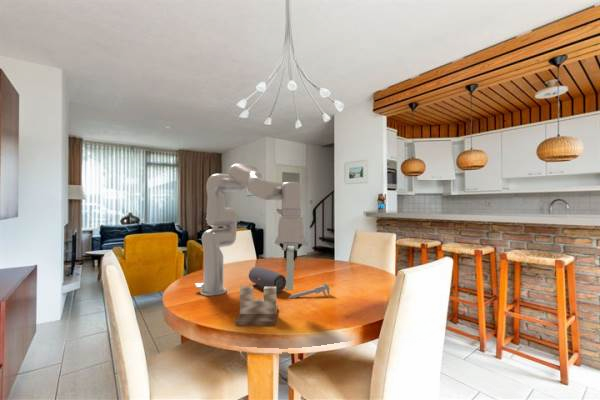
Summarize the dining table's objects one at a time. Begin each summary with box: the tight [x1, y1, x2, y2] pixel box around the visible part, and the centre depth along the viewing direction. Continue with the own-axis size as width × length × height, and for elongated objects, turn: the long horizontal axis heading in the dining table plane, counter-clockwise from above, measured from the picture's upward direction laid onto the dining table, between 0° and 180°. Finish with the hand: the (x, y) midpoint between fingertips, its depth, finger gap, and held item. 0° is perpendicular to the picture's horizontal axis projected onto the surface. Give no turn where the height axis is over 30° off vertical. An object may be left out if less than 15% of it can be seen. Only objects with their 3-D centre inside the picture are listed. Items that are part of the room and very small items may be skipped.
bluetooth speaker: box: [248, 266, 286, 293], centre depth 147 cm, size 23×9×10 cm, turn 42°
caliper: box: [287, 282, 330, 299], centre depth 135 cm, size 20×1×6 cm, turn 103°
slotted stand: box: [235, 285, 278, 326], centre depth 111 cm, size 14×16×12 cm
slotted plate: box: [285, 245, 295, 291], centre depth 110 cm, size 14×2×14 cm, turn 0°
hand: (290, 259), depth 110 cm, fingers closed on slotted plate, 2 cm apart
